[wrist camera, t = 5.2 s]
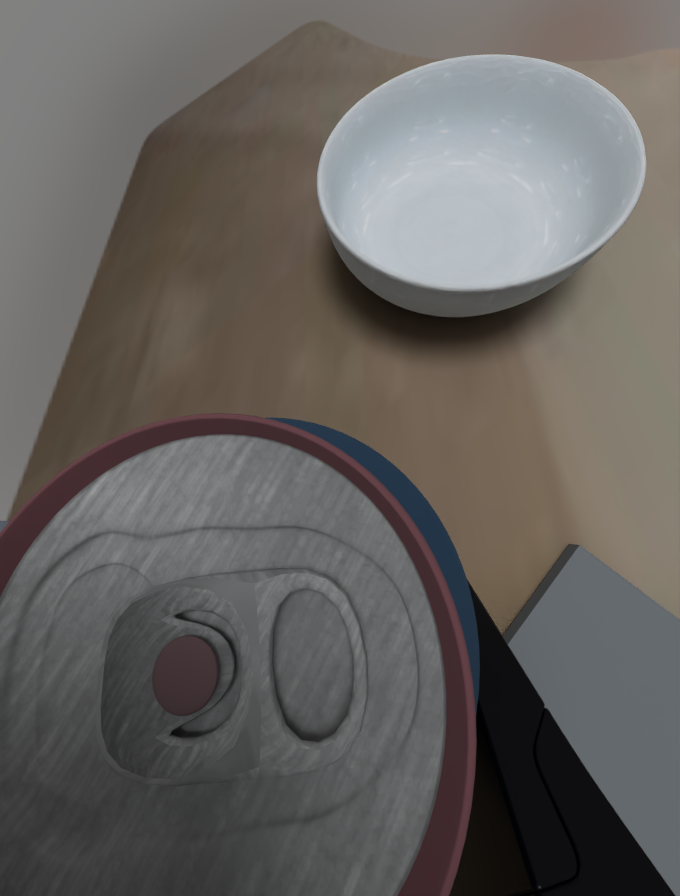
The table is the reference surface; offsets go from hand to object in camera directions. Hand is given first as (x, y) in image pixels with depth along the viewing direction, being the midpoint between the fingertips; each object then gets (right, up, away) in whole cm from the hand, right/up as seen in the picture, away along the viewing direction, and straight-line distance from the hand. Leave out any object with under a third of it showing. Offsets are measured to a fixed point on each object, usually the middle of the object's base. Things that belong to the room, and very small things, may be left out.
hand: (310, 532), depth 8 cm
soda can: (0, -3, +6) cm, 7 cm away
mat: (+16, -12, +9) cm, 22 cm away
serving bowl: (+10, +20, +18) cm, 29 cm away
